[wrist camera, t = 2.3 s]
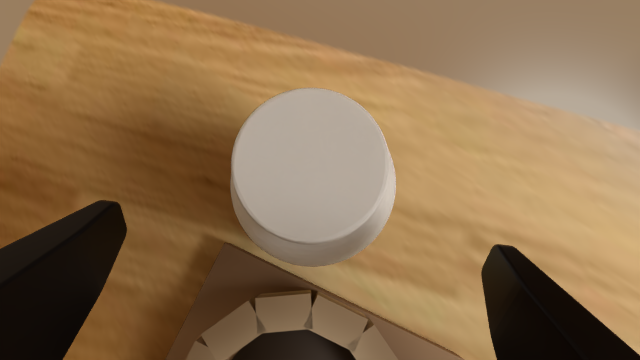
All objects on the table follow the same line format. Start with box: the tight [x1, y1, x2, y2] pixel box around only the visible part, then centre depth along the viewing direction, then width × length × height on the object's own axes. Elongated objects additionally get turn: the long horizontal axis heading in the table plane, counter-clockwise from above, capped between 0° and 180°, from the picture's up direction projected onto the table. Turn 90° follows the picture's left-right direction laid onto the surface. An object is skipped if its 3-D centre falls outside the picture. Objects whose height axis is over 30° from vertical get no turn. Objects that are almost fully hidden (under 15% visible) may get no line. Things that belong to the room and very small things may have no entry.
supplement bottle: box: [230, 88, 396, 267], centre depth 14 cm, size 5×5×10 cm
